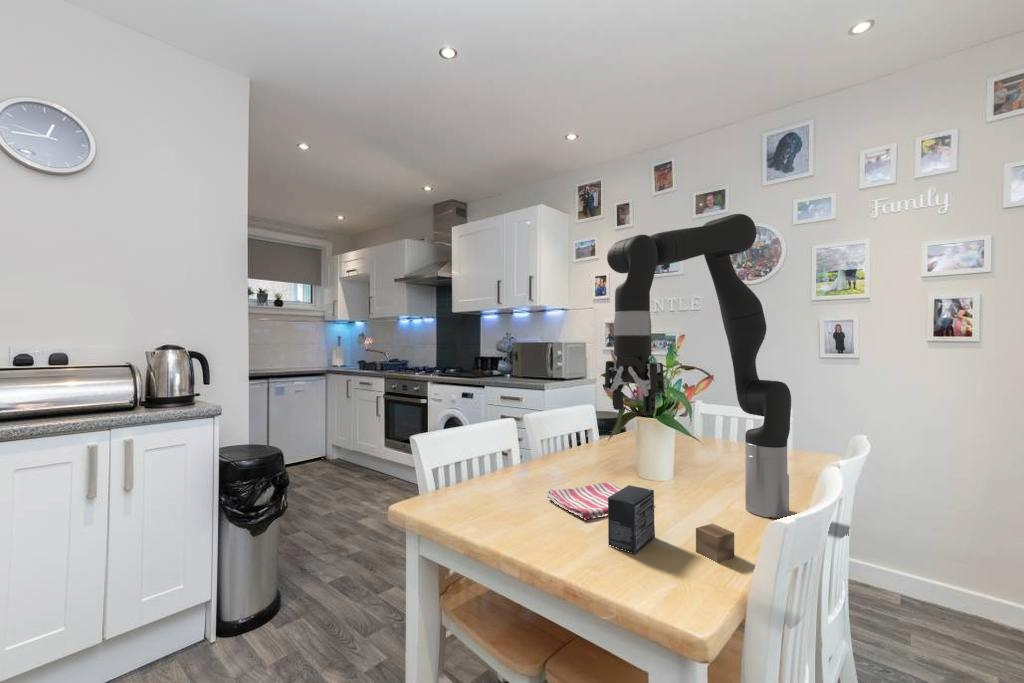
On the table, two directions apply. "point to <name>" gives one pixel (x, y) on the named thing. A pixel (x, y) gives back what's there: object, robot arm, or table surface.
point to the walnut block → (715, 542)
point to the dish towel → (585, 499)
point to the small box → (631, 518)
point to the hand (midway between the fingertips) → (632, 411)
